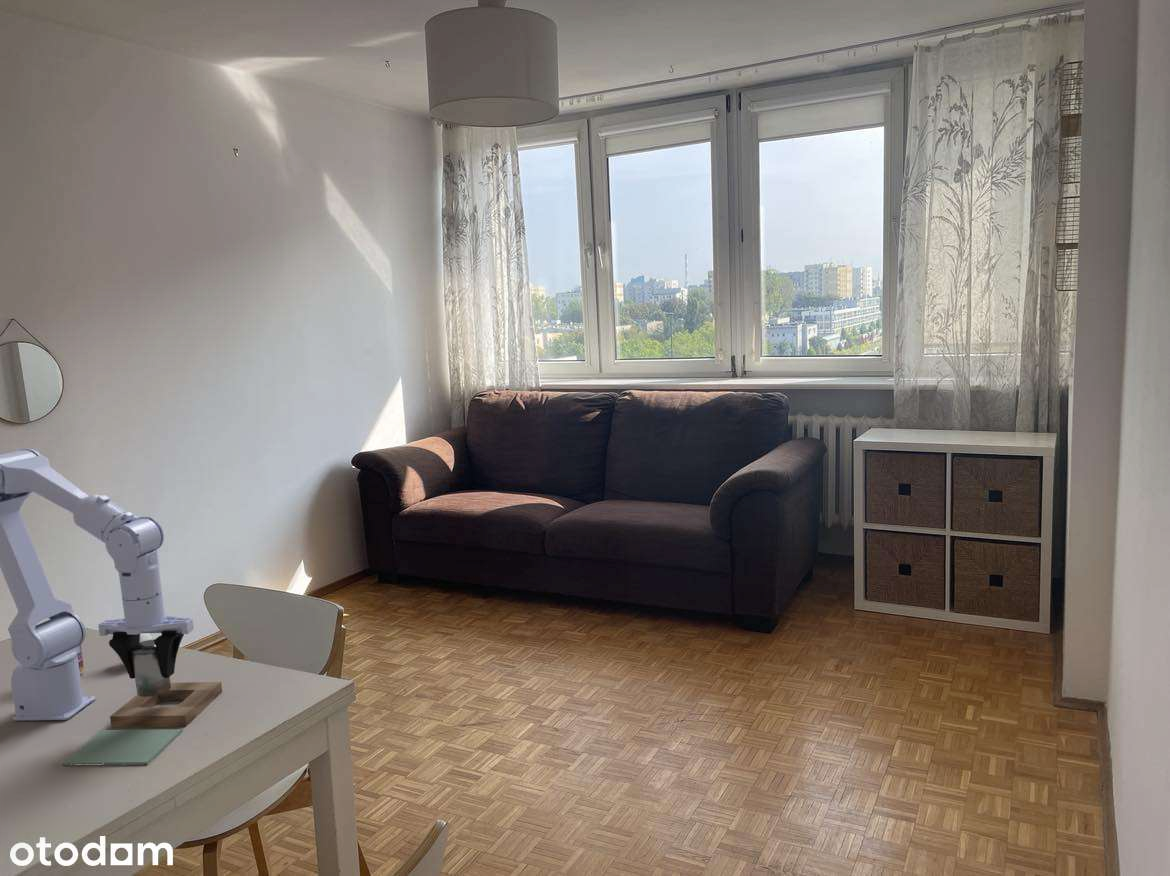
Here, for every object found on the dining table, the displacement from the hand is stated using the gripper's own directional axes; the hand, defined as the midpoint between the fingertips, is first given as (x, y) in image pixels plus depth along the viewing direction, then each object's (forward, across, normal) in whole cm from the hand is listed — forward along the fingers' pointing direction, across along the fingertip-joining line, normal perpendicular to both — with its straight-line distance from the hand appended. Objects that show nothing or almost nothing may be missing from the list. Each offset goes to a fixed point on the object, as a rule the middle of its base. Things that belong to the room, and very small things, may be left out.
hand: (152, 675), depth 143 cm
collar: (+7, 0, +4) cm, 8 cm away
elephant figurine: (+8, -17, +24) cm, 30 cm away
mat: (+7, 0, -9) cm, 12 cm away
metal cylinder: (+2, 0, 0) cm, 2 cm away
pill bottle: (+8, -27, +18) cm, 33 cm away
